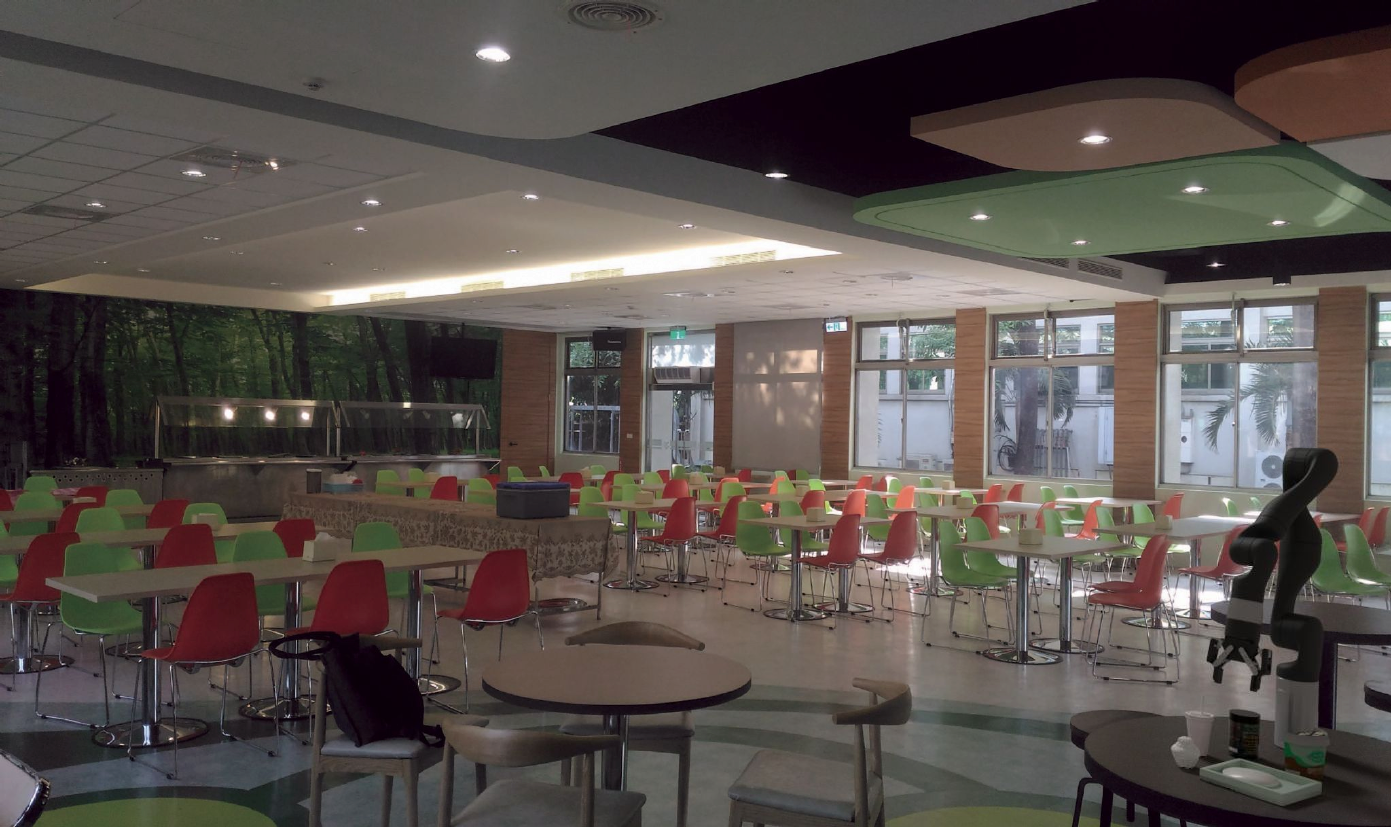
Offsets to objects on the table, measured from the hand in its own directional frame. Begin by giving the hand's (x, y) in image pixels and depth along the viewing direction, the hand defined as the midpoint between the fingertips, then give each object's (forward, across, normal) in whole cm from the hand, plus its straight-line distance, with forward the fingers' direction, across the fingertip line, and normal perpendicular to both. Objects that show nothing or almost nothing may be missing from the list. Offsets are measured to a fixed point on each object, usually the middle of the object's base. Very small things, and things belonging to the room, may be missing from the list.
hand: (1235, 687), depth 241 cm
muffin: (+20, +3, +12) cm, 23 cm away
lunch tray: (+20, -13, +10) cm, 26 cm away
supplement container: (+16, 0, -9) cm, 18 cm away
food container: (+16, -16, -8) cm, 24 cm away
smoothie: (+18, +7, 0) cm, 19 cm away
